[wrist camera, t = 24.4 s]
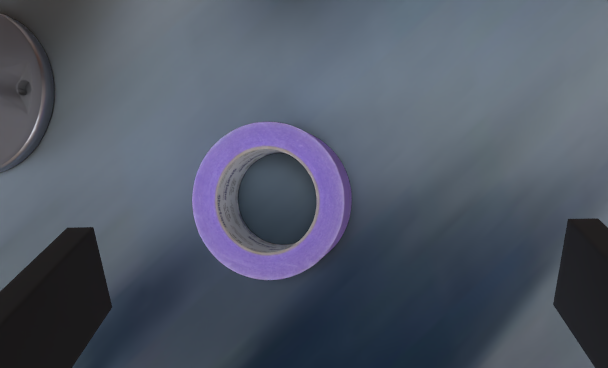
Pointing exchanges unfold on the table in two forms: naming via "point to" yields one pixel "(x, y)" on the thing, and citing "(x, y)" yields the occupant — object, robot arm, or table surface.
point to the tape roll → (225, 209)
